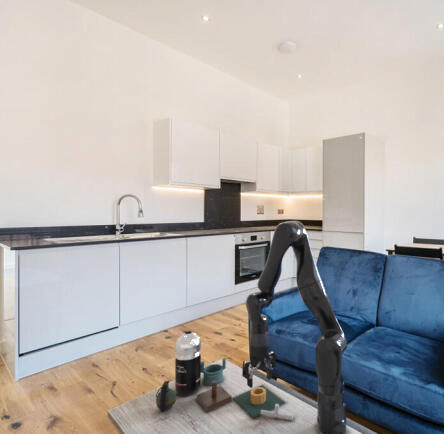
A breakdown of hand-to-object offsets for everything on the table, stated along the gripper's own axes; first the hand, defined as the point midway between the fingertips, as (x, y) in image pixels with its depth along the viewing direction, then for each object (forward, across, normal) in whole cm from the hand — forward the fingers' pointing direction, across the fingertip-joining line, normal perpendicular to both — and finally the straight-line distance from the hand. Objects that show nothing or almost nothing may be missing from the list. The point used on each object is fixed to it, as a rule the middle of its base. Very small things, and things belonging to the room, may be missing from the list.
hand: (259, 382), depth 121 cm
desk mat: (+7, 0, 0) cm, 7 cm away
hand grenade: (+7, -30, +19) cm, 36 cm away
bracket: (+7, -8, +26) cm, 28 cm away
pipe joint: (+8, -1, -12) cm, 14 cm away
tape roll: (+7, 0, 0) cm, 7 cm away
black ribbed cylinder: (+7, -19, +26) cm, 33 cm away
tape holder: (+7, -14, +12) cm, 20 cm away
